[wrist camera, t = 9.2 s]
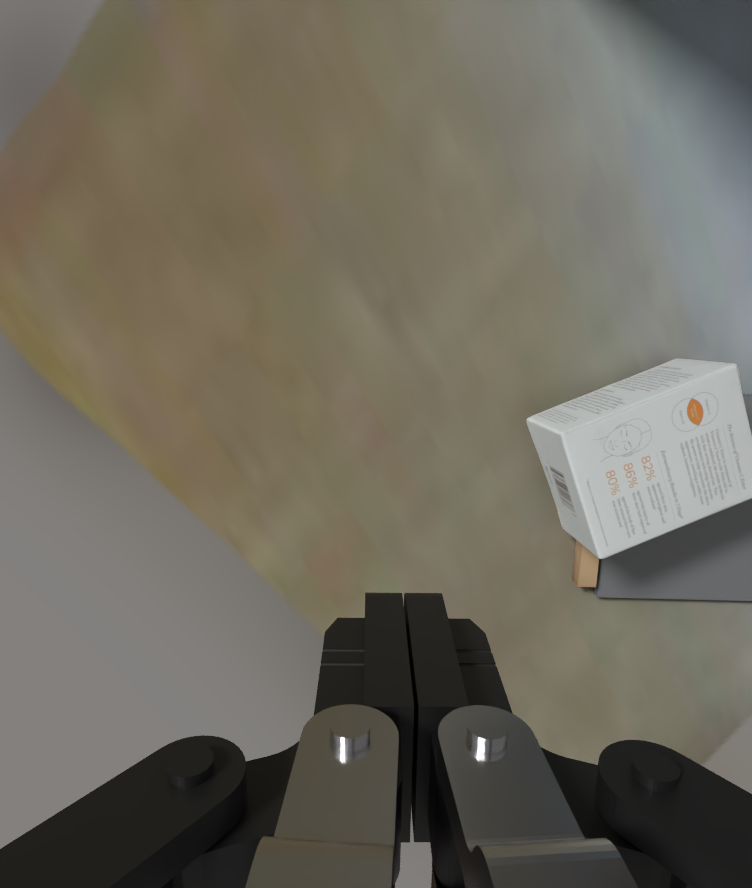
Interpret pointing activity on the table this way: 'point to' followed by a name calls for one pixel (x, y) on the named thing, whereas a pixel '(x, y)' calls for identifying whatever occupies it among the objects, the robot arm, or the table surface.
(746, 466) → the small box
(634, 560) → the rubber mat
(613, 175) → the table surface
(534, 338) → the table surface
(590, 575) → the oak ledge
